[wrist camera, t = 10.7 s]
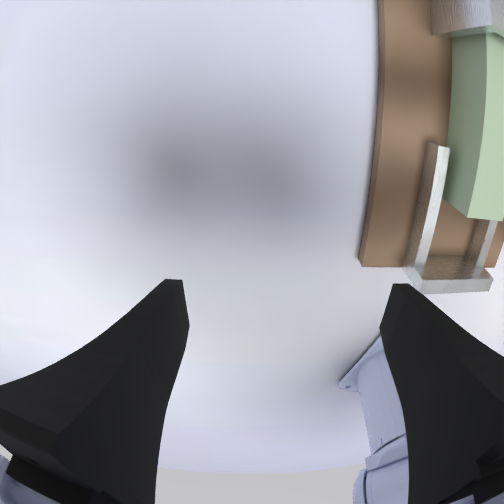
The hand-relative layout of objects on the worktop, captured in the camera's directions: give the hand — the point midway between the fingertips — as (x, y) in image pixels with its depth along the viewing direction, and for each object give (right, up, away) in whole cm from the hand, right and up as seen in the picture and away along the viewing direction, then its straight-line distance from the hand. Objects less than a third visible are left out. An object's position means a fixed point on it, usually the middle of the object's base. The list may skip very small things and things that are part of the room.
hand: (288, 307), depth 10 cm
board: (+12, +11, +4) cm, 17 cm away
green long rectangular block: (+12, +11, +3) cm, 16 cm away
